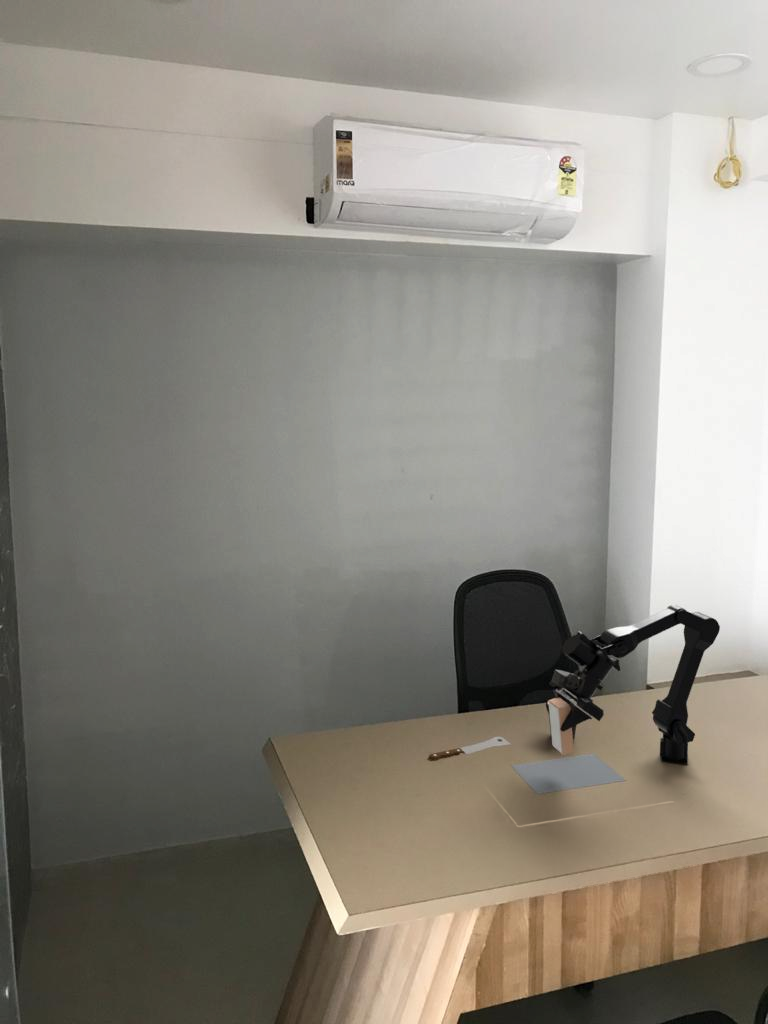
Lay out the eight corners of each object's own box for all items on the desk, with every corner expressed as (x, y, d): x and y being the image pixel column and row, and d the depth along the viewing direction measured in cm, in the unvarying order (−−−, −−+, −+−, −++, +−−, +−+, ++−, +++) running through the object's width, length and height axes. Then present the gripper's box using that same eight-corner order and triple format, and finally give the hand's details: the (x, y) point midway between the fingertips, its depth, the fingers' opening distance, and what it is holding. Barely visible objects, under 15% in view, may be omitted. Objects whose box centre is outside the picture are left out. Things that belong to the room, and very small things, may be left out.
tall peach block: (563, 743, 222) (559, 697, 220) (574, 752, 217) (569, 705, 214) (552, 746, 221) (547, 700, 219) (562, 755, 216) (557, 708, 214)
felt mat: (594, 754, 231) (594, 753, 231) (626, 781, 216) (626, 780, 216) (510, 766, 225) (510, 765, 225) (537, 795, 210) (537, 793, 210)
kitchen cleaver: (442, 768, 224) (424, 750, 233) (442, 771, 224) (424, 754, 233) (522, 750, 234) (502, 735, 243) (521, 754, 234) (501, 738, 243)
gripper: (552, 647, 224) (517, 696, 224) (588, 670, 207) (550, 724, 206) (582, 669, 228) (548, 718, 227) (620, 694, 210) (582, 747, 210)
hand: (556, 725), depth 218 cm, fingers closed on tall peach block, 5 cm apart
